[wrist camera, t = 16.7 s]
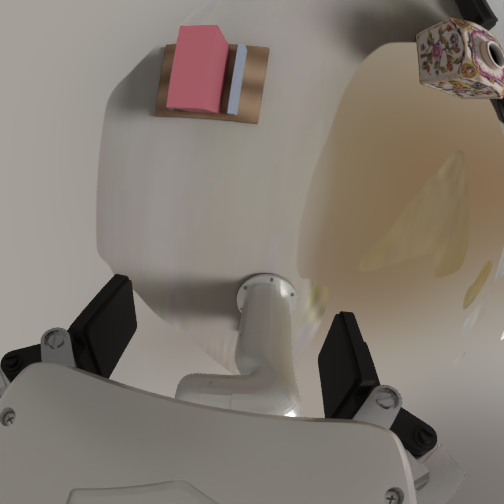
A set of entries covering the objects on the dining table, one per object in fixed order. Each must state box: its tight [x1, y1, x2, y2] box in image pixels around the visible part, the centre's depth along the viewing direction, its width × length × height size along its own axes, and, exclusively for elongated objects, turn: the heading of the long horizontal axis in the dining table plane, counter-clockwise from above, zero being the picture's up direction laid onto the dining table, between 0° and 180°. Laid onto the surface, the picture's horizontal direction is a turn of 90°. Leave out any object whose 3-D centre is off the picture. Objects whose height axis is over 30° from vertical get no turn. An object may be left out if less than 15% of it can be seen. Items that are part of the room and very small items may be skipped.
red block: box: [166, 25, 231, 114], centre depth 33 cm, size 12×5×12 cm, turn 172°
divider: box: [227, 43, 247, 115], centre depth 36 cm, size 12×1×4 cm, turn 172°
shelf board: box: [155, 44, 269, 124], centre depth 39 cm, size 14×18×2 cm
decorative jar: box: [416, 17, 504, 99], centre depth 25 cm, size 12×12×18 cm
